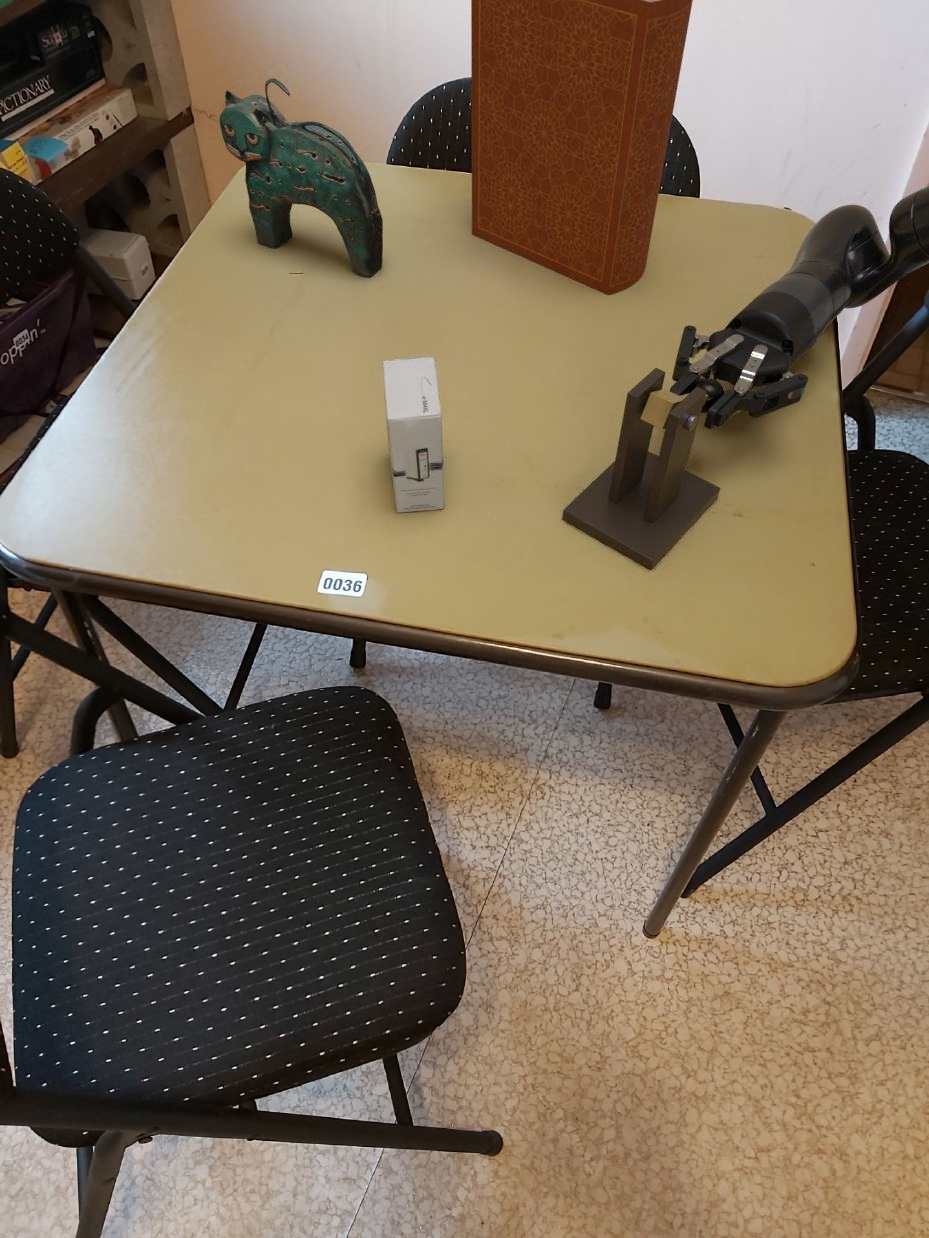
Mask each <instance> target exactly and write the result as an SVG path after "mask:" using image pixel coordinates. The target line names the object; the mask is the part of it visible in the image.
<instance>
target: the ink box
mask: <svg viewBox="0 0 929 1238" xmlns="http://www.w3.org/2000/svg"><path fill="white" fill-rule="evenodd" d="M382 371H383V391H384V393H383V394H384V404H385V405H384V407H385V409H384V410H385V421H386V422H385V423H386V432H387V433H386V434H387V443H388V453H389V462H390V469H391V478H392V486H393V496H394V505H395V511H396V512H397V513H410V512H411V513H412V512H425V511H435V510H444V509H445V484H444V481H445V479H444V445H443V443H444V441H443V421H442V419H443V418H442V417H443V415H442V414H443V413H442V405H441V401H440V400H441V399H440V393H439V392H440V391H439V384H438V377H437V376H438V375H437V368H436V359H435V358H434V356H431V355H430V356H418V357H406V358H405V357H403V358H395V359H386V360H383V361H382Z"/></svg>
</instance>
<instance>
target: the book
mask: <svg viewBox="0 0 929 1238" xmlns="http://www.w3.org/2000/svg"><path fill="white" fill-rule="evenodd" d="M470 2H471V3H470V4H471V5H470V8H471V9H470V11H471V12H470V13H471V15H470V17H471V19H470V20H471V22H470V23H471V24H470V25H471V26H470V27H471V28H470V33H471V36H470V40H471V48H470V49H471V50H470V51H471V56H470V57H471V59H470V60H471V64H470V65H471V66H470V67H471V75H470V76H471V235H473V236H475V237H477V238H479V239H482V240H484V241H486V242H489V243H491V244H493V245H495V246H498V247H499V248H502V249H504V250H507V251H509V252H511V253H513V254H515V255H517V256H520V257H522V258H525V259H527V260H528V261H531V262H534V263H536V264H538V265H540V266H543V267H545V268H547V269H550V270H551V271H554V272H556V273H558V274H561V275H563V276H565V277H567V278H569V279H571V280H573V281H576V282H578V283H581V284H583V285H585V286H587V287H590V288H592V289H594V290H595V291H596V290H597V291H599V292H601V293H603V294H606V295H608V296H610V295H613V294H616V293H620V292H622V291H624V290H627V289H628V288H631V287H632V286H633V285H635V284H636V283H637V282H638V281H639V280H640V279H641V278H642V277H643V275H644V273H645V270H646V267H647V261H648V256H649V250H650V246H651V238H652V234H653V227H654V222H655V221H654V220H655V217H656V211H657V204H658V199H659V193H660V187H661V184H662V183H661V182H662V176H663V171H664V165H665V160H666V156H667V155H666V154H667V148H668V142H669V137H670V131H671V126H672V120H673V116H674V115H673V114H674V109H675V102H676V98H677V91H678V87H679V81H680V75H681V69H682V63H683V58H684V51H685V46H686V41H687V35H688V30H689V24H690V18H691V12H692V7H693V2H694V0H471V1H470Z"/></svg>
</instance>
